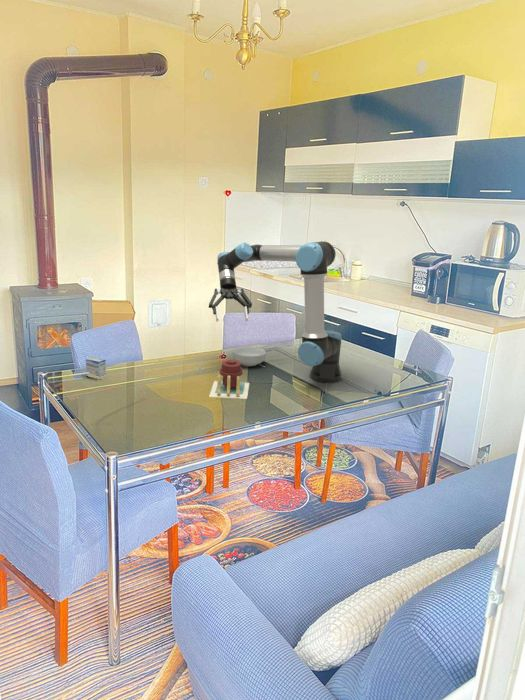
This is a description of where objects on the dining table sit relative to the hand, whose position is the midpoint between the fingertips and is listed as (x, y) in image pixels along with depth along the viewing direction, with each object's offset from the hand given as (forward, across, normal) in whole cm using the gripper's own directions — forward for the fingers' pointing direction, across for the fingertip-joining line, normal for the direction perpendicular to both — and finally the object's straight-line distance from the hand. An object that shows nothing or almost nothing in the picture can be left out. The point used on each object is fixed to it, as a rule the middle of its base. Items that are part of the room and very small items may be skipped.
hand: (232, 319), depth 234 cm
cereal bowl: (+7, -12, -32) cm, 35 cm away
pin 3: (+38, +2, 0) cm, 38 cm away
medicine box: (+15, +61, -24) cm, 67 cm away
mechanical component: (+31, +3, -7) cm, 32 cm away
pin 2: (+37, +5, -1) cm, 37 cm away
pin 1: (+36, +9, -1) cm, 37 cm away
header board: (+33, +4, -6) cm, 33 cm away
